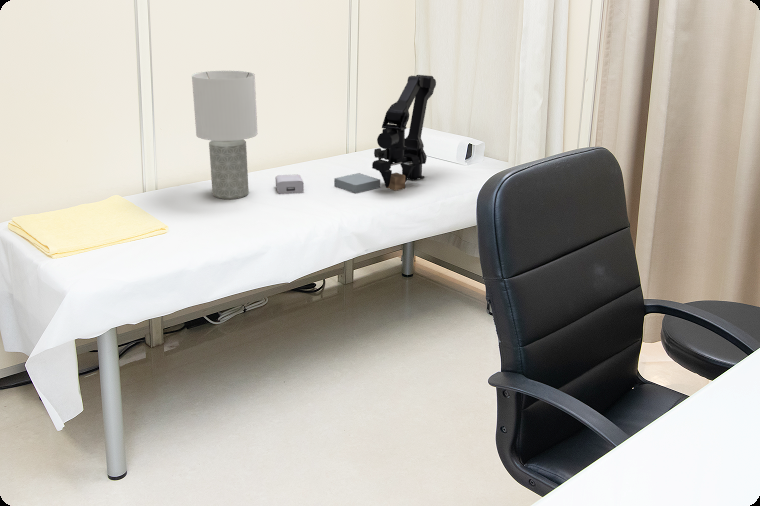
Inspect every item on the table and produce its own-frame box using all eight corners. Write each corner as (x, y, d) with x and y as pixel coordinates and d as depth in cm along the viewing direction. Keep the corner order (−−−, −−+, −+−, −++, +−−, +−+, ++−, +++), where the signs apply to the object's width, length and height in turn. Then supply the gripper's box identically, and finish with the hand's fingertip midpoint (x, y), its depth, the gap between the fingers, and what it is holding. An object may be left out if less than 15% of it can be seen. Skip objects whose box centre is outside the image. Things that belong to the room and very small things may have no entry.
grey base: (359, 180, 281) (359, 172, 280) (380, 187, 273) (380, 179, 272) (334, 186, 274) (334, 178, 273) (355, 193, 266) (355, 185, 265)
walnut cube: (395, 185, 276) (396, 172, 274) (405, 188, 273) (405, 175, 271) (385, 187, 273) (386, 174, 271) (395, 190, 270) (395, 177, 268)
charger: (298, 182, 279) (303, 193, 266) (274, 183, 277) (277, 194, 264) (298, 169, 277) (303, 180, 264) (273, 170, 276) (277, 181, 262)
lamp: (238, 183, 276) (232, 69, 261) (271, 195, 262) (267, 75, 247) (189, 193, 262) (179, 74, 247) (222, 206, 249) (214, 81, 234)
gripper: (399, 136, 278) (398, 176, 284) (362, 142, 267) (362, 184, 272) (420, 141, 271) (419, 182, 276) (383, 148, 259) (382, 191, 265)
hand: (395, 185), depth 273 cm, fingers open, 8 cm apart
